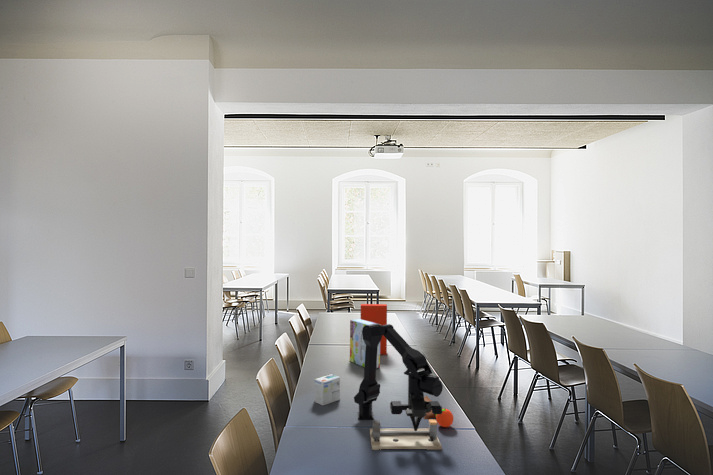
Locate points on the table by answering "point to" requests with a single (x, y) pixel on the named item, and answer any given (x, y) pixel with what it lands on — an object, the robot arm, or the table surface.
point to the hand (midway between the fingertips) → (415, 430)
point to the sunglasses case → (430, 414)
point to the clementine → (444, 418)
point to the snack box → (359, 343)
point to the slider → (433, 429)
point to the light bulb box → (327, 389)
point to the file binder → (376, 319)
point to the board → (401, 438)
